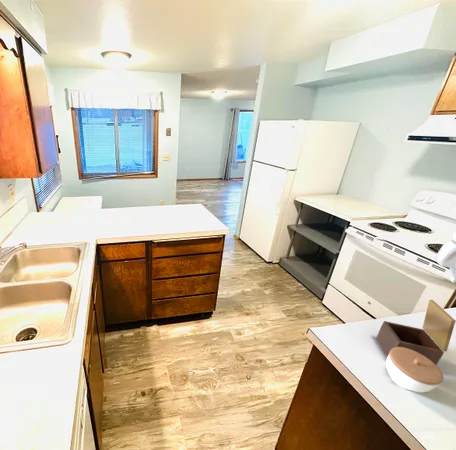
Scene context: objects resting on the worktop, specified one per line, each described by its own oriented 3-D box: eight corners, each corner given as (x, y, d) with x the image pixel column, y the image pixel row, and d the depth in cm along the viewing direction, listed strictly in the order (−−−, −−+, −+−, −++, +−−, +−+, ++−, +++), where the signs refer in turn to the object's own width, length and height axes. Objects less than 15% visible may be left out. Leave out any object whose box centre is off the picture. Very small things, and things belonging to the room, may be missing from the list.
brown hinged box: (389, 361, 77) (399, 342, 74) (375, 338, 85) (383, 320, 82) (431, 372, 74) (444, 352, 71) (413, 347, 82) (423, 329, 79)
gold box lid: (451, 320, 67) (455, 320, 67) (429, 299, 76) (432, 299, 75) (443, 351, 71) (446, 351, 70) (422, 328, 79) (425, 328, 79)
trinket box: (385, 388, 69) (399, 367, 65) (375, 357, 77) (387, 337, 73) (437, 407, 64) (455, 386, 60) (420, 372, 73) (435, 352, 69)
